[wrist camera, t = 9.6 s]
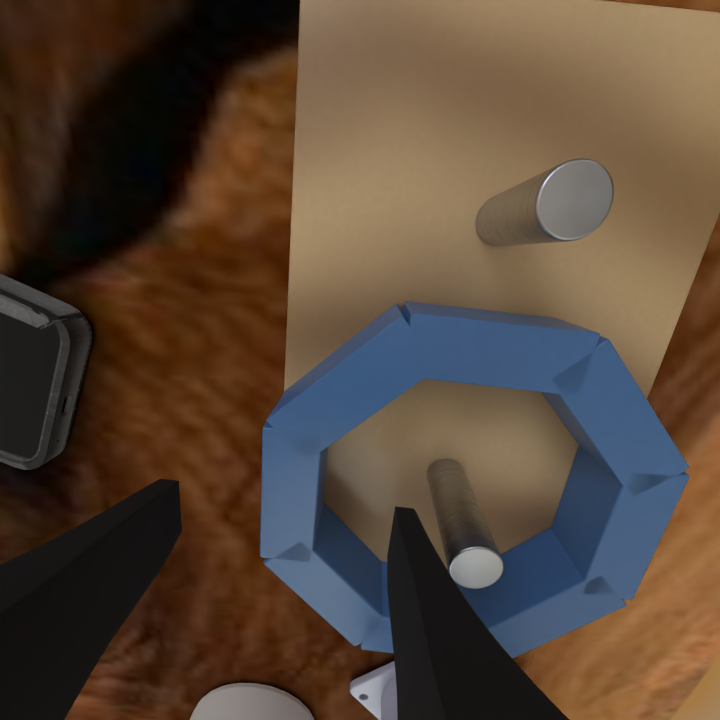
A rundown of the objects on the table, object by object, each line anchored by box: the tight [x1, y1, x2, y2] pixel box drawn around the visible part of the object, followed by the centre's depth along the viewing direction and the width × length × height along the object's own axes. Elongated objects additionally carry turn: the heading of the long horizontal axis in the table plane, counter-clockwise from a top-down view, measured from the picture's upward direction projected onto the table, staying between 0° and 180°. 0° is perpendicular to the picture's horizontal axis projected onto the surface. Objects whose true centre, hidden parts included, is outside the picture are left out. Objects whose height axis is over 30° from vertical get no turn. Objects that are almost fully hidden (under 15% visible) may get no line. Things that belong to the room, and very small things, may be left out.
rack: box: [284, 0, 720, 589], centre depth 11 cm, size 22×14×6 cm, turn 174°
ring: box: [260, 301, 689, 658], centre depth 13 cm, size 14×14×3 cm
